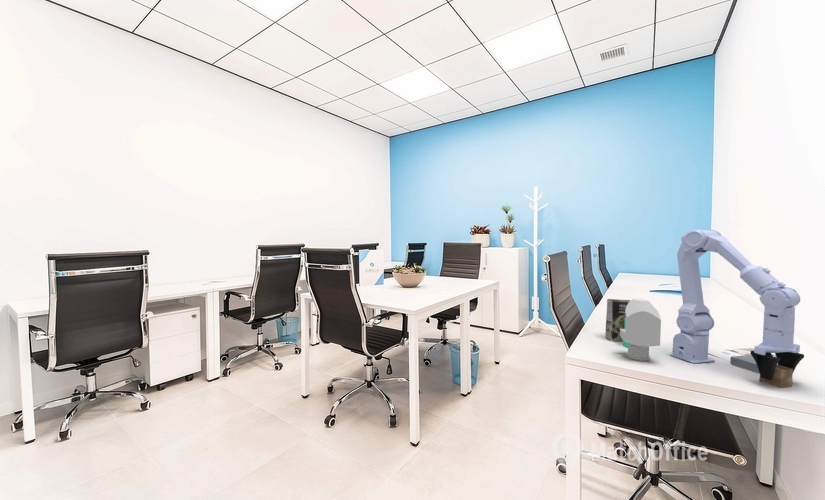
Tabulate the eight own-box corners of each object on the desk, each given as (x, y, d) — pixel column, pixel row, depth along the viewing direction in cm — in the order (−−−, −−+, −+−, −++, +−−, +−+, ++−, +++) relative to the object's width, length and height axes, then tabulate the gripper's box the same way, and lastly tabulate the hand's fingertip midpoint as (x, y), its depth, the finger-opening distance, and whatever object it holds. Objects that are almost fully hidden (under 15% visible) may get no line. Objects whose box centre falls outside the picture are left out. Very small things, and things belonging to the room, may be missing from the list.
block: (780, 388, 88) (781, 370, 88) (759, 381, 92) (760, 364, 92) (791, 386, 89) (792, 369, 89) (770, 379, 93) (771, 362, 93)
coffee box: (611, 341, 127) (613, 301, 126) (604, 336, 133) (606, 298, 133) (637, 343, 125) (638, 302, 125) (628, 338, 132) (630, 299, 131)
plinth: (766, 375, 96) (766, 367, 96) (730, 364, 105) (730, 356, 105) (787, 373, 98) (787, 365, 98) (750, 362, 107) (750, 354, 107)
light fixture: (650, 355, 112) (652, 298, 111) (659, 365, 103) (661, 303, 102) (619, 351, 115) (621, 296, 115) (625, 360, 107) (627, 301, 106)
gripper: (779, 335, 85) (776, 386, 85) (816, 332, 88) (813, 381, 88) (746, 328, 91) (743, 375, 92) (781, 326, 95) (779, 371, 95)
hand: (775, 377), depth 91 cm, fingers open, 7 cm apart
